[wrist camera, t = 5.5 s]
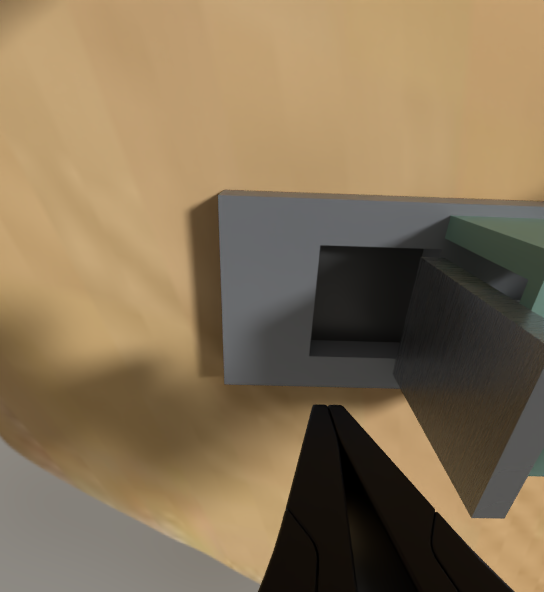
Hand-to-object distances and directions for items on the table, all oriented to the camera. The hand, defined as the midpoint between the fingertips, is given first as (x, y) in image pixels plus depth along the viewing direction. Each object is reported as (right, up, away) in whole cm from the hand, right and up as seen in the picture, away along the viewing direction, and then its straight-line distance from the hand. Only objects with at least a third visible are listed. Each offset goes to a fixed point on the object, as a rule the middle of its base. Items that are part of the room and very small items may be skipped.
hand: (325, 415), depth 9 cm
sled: (+12, +3, +6) cm, 14 cm away
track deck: (+8, +4, +8) cm, 12 cm away
